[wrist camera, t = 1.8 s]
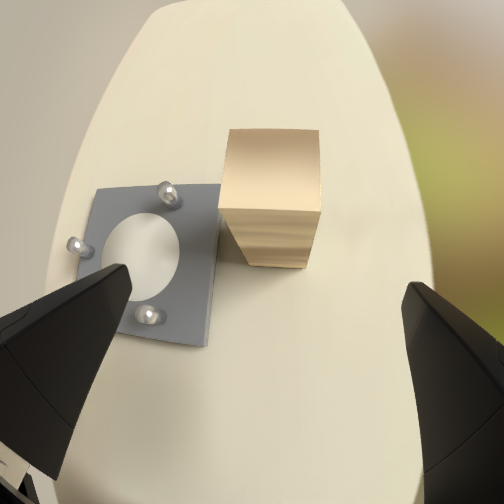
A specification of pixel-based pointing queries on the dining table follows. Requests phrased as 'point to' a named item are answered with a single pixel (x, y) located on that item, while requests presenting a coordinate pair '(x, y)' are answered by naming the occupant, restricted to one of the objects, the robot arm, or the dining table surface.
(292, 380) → the dining table surface
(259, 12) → the dining table surface
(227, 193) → the maple block
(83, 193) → the dining table surface
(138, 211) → the plate
